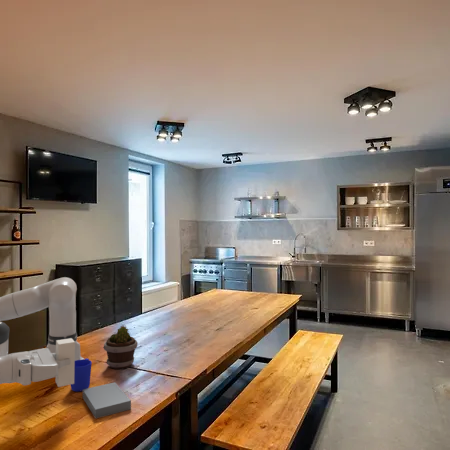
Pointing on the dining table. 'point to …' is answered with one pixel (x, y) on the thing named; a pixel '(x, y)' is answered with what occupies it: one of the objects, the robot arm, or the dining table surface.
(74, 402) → the dining table surface
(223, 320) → the dining table surface
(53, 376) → the robot arm
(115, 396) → the block
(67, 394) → the dining table surface
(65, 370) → the block
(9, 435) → the dining table surface
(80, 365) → the mug
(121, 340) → the flowerpot
